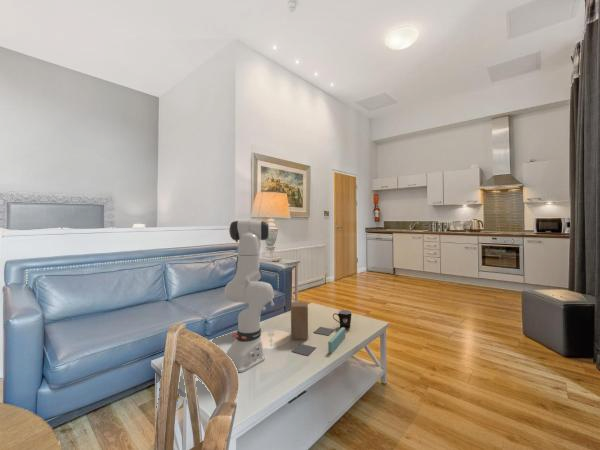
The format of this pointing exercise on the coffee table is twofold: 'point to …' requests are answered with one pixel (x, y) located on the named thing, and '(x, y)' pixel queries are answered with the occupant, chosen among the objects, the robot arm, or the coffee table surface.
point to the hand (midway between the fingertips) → (269, 307)
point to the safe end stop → (336, 340)
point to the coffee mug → (344, 318)
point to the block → (299, 321)
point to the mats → (309, 349)
